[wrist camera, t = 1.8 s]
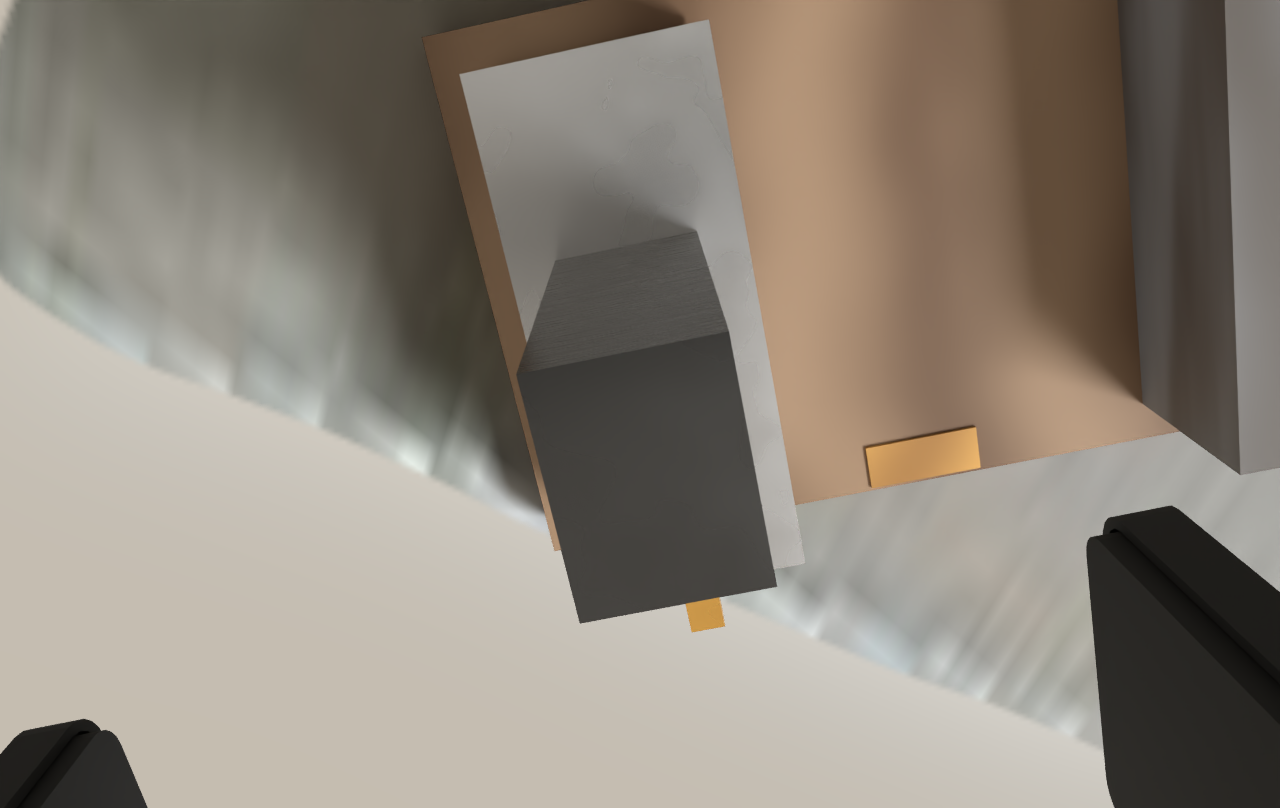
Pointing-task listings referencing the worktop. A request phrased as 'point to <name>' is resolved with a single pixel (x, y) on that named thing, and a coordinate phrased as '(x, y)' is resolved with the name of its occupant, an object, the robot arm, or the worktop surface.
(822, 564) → the worktop surface
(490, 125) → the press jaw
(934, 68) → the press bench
